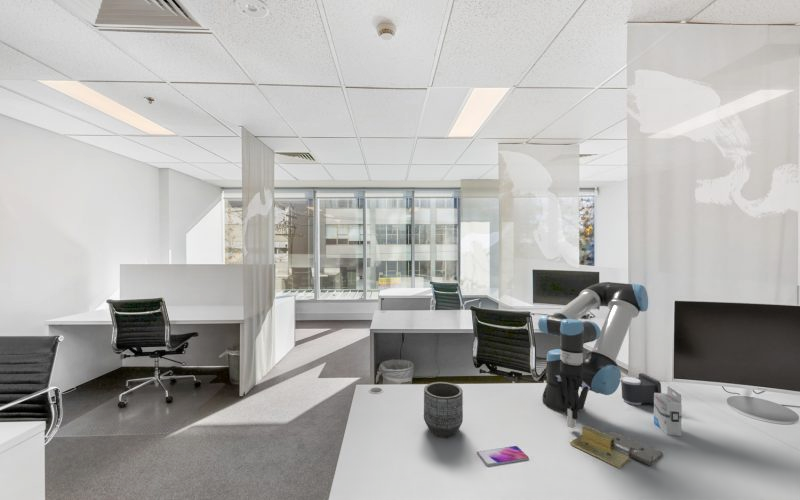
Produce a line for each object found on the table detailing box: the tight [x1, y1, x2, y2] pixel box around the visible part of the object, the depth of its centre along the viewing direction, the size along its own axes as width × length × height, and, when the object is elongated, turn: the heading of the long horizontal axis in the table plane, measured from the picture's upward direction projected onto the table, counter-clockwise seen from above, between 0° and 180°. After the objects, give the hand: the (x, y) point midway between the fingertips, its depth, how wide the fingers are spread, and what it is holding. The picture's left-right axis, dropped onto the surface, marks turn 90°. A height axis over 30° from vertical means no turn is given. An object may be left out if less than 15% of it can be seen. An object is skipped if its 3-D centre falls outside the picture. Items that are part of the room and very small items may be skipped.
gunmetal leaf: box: [607, 431, 664, 466], centre depth 108 cm, size 15×11×3 cm
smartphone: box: [476, 445, 530, 467], centre depth 104 cm, size 7×1×15 cm
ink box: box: [653, 385, 683, 436], centre depth 121 cm, size 9×5×15 cm, turn 168°
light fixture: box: [620, 372, 662, 406], centre depth 143 cm, size 11×13×11 cm
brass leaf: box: [569, 425, 631, 469], centre depth 108 cm, size 15×11×3 cm
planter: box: [423, 381, 464, 438], centre depth 120 cm, size 14×14×15 cm
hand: (571, 426), depth 120 cm, fingers closed
